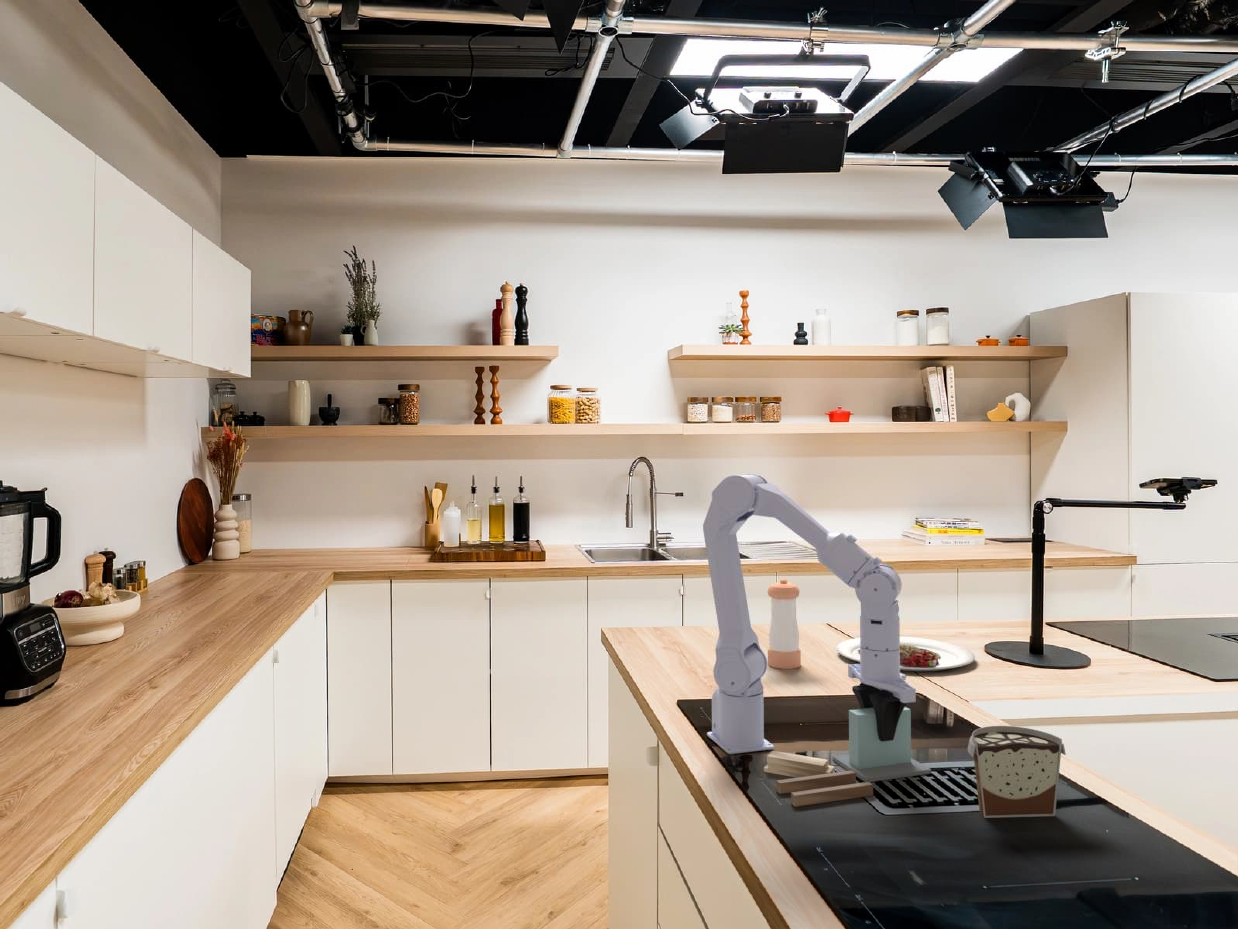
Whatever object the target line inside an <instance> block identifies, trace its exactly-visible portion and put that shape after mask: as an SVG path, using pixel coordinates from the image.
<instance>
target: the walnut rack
mask: <svg viewBox="0 0 1238 929" xmlns="http://www.w3.org/2000/svg"><path fill="white" fill-rule="evenodd" d="M856 777H857V776H856V773H855V772H854V771H852V770H851V771H848V770H845V771H838V772H836V771H835V773H829V774H821V775H814V776H806V777H799V778H796V777H792V778H784V779H778V780H776V793H778V794H780V795H781V794H789V793H790V797H791V798H790V800H791V801H790V804H791V805H792V806H793V807H802V806H808V805H809V806H810V805H816V804H825V803H829V802H837V801H845V800H850V799H851V800H852V799H859V798H865V797H872V796H874V784H873V783H871V782H864V781H863V782H858V783H857V778H856Z"/></svg>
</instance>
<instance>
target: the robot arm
mask: <svg viewBox="0 0 1238 929" xmlns="http://www.w3.org/2000/svg"><path fill="white" fill-rule="evenodd" d="M752 516H759V517H767V518H775V519H776V520H777V521H779V523H782V524H783V525H784V526H786V527H787V528H788V530H791V531H792V532H793V533H794V534H796V535H797V536H799V537H800V538H802V540H804V541H805V542H806V543H808V544H810V545H811V546H812V547H813V548H814V549H815V550H816V556H817V561H818V562H819V563H820V564H821V565H823V566H824V567H825V568H826V569H827V570H829V571H830V572H831V573H832V574H833V575H835V576H836V577H837V578H839V579H840V580H841V581H842V582H843V583H844V584H846V585H847V586H848V587H849V588H853V589H855V590H854V591H855V595H856V598H857V599H858V601H859V602H860V615H859V638H860V662H859V663H854V664H853V663H852V664H848V665H847V666H848V667H847V668H848V669H847V670H848V671H847V675H848V676H847V677H848V678H850V679H857V680H858V681H859V682H860V683H859V685H853V686H852V689H851V690H852V692H853V695H854V696H855V698H856V700H857V702H858V704H859V707H860V709H865V708H874V711H875V715H876V721H877V731H878V737H879V740H880V741H891V740H893V739H894V736H895V732H896V728H897V724H898V721H899V718H900V716H901V713H902V711H903V709H904V708H905V707H906V706H907V705H908V703H916V702H917V701H916V698H917V694H916V692H917V691H916V690H917V689H916V688H915V687H913V686H911V684H909V683H908V682H907V681H906V679H907V676H906V674H904V673H902V672H901V670H900V637H901V636H900V635H901V633H900V631H901V630H900V626H901V624H900V623H901V621H900V616H899V612H900V606H899V600H897V598H898V597H899V596H900V594H901V590H902V580H901V576H900V575H899V573H898V572H897V571H896V570H895V569H894V567H893V566H891V565H889V564H885V563H882V559H880V557H879V556H876V557H873V556H872V555H871V554H870V553H868V551H866V550H864V549H863V548H862V547H861V546H859V545H858V544H857V538H856V537H855V536H854V535H852V534H848V535H846V534H845V533H844V532H832V533H831V532H830V531H828V530H827V529H826V527H824V526H822V525H821V524H820V523H819V522H818V521H817V520H816V519H815V518H814V517H813V516H811V515H810V514H809V513H808V512H806V510H804V509H803V507H801V506H800V505H799V504H797V503H796V502H795V500H793V499H792V498H791V497H789V495H787V494H786V493H785V492H784V491H783V490H781V489H780V488H779V487H778V486H777V485H775V484H773V483H772V482H768V480H766V478H765V477H764V476H762V475H760V474H757V473H747V474H744V475H741V474H733V475H729V476H726V477H725V478H723V480H721V481H720V482H719V484H717V486H716V487H714V489H713V490H712V491H711V502H710V503H709V506H708V509H707V512H706V516H705V519H704V521H703V524H702V531H703V537H704V538H703V539H704V543H705V550H706V556H707V557H706V558H707V562H708V569H709V575H710V581H711V589H712V594H713V600H714V606H715V614H716V618H717V626H718V632H719V634H718V639H717V641H716V644H715V650H714V651H715V664H714V666H713V678H714V682H715V683H716V685H717V687H716V688H715V689H714V691H713V693H712V696H711V731H708V732H706V736H707V737H708V738H709V739H711V740H712V741H713V742H715V743H716V744H717V745H718V746H719V747H720V749H722V750H723V751H724V752H726V753H727V754H728V755H735V754H741V753H742V754H743V753H751V752H759V751H766V750H768V751H769V750H774V749H775V746H774V744H772V743H771V742H770V741H768V740H767V739H765V731H764V730H765V725H764V724H765V723H764V722H765V721H764V718H765V717H764V716H765V713H764V710H765V709H764V708H765V707H764V706H765V705H764V686H763V683H762V677H763V676H764V675H765V674H766V672H767V668H768V657H767V656H766V654H765V652H764V650H763V649H762V648H761V646H760V644H759V642H760V641H759V637H758V635H757V634H756V632H755V631H754V629H753V628H752V625H751V618H750V612H749V606H748V600H747V594H746V586H745V580H744V575H743V569H742V563H741V562H742V561H741V557H740V550H739V545H738V544H739V543H738V537H737V532H739V531H740V529H741V528H742V527H743V525H744V524H745V523H746V522H747V520H748V519H749V518H751V517H752Z"/></svg>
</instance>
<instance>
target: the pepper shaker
mask: <svg viewBox="0 0 1238 929" xmlns="http://www.w3.org/2000/svg"><path fill="white" fill-rule="evenodd" d="M799 595H800V589H799V587H798V586H797V585H796V584H794V583H792V582H788V580H787V579H783V578H782V579H780V580H779V582H774V583H772V584H770V585H769V587H768V589H767V596H769V597H770V598H771V600H770V601H771V605H770V608H771V609H770V612H771V616H770V623H769V629H768V642H769V646H768V648H767V666H769V667H772V668H776V669H783V670H784V669H787V670H788V669H797V668H800V667H801V663H802V661H801V660H802V659H801V655H802V654H801V651H802V650H801V648H800V645H799V644H800V632H799V625H798V620H797V598H799Z"/></svg>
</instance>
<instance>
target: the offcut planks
mask: <svg viewBox="0 0 1238 929" xmlns="http://www.w3.org/2000/svg"><path fill="white" fill-rule="evenodd" d="M766 761H767V764H766V765H765V766H764V767H763V772H764V773H770V774H775V775H780V776H786V777H792V778H799V777H806V776H814V775H821V774H829V773H836V771H835V766H834V765H830V764H829V759H824V758H819V757H812V756H807V755H801V754H796V753H789V752H784V751H776V750H772V751H770V752H769V754H767V756H766Z"/></svg>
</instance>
